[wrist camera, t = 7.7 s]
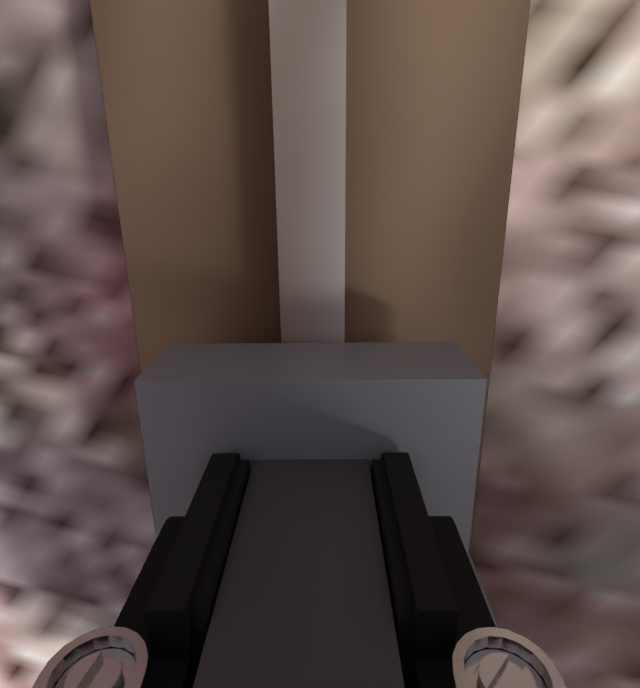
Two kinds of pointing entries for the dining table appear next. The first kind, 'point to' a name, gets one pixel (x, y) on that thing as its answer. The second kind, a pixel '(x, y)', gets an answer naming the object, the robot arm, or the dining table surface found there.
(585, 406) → the dining table surface
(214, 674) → the carriage
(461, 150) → the board
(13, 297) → the dining table surface
